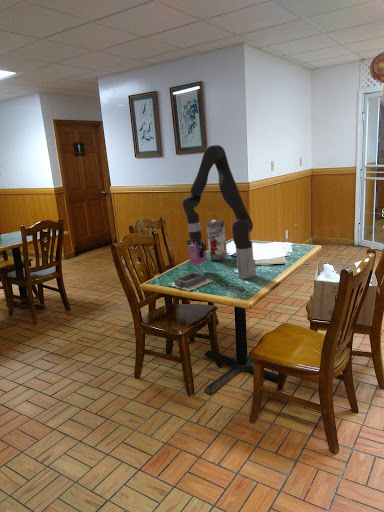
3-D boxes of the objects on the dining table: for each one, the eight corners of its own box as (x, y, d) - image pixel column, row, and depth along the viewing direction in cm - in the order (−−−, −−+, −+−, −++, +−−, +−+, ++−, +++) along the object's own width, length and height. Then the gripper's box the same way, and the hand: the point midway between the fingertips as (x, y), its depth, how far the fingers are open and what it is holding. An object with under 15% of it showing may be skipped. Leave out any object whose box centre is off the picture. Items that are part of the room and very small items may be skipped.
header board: (213, 281, 222) (212, 274, 221) (189, 292, 210) (189, 284, 209) (191, 276, 235) (190, 270, 233) (168, 286, 223) (167, 279, 222)
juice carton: (214, 257, 269) (210, 218, 262) (228, 257, 264) (224, 218, 257) (208, 261, 262) (204, 221, 254) (223, 261, 257) (219, 221, 250)
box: (198, 265, 233) (195, 245, 230) (190, 264, 236) (187, 245, 233) (207, 260, 241) (205, 241, 238) (199, 259, 244) (197, 241, 241)
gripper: (207, 229, 231) (211, 256, 235) (190, 228, 241) (194, 254, 245) (198, 232, 226) (202, 260, 230) (181, 230, 236) (185, 257, 240)
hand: (198, 257), depth 238 cm, fingers closed on box, 6 cm apart
